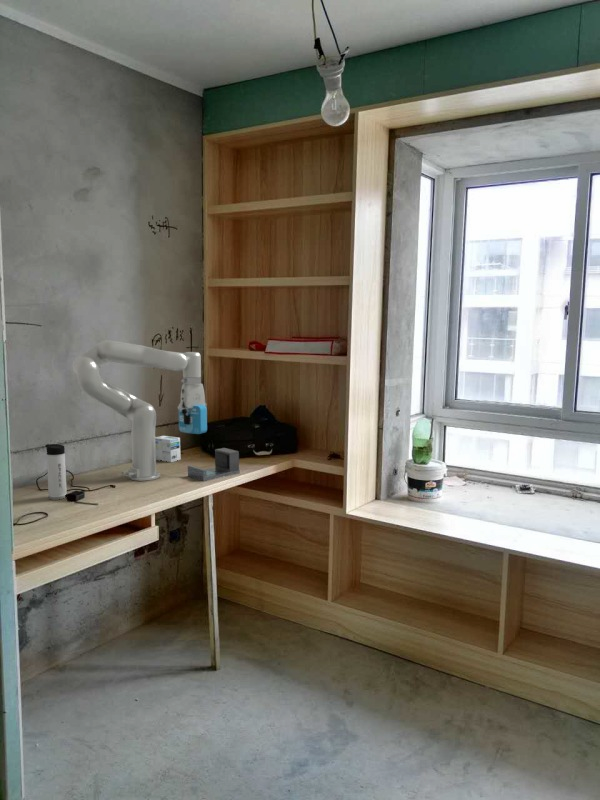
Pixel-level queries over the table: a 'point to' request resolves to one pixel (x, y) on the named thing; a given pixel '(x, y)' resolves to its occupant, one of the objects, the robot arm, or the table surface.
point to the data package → (194, 420)
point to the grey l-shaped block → (218, 466)
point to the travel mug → (56, 471)
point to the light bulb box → (167, 448)
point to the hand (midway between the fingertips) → (192, 422)
